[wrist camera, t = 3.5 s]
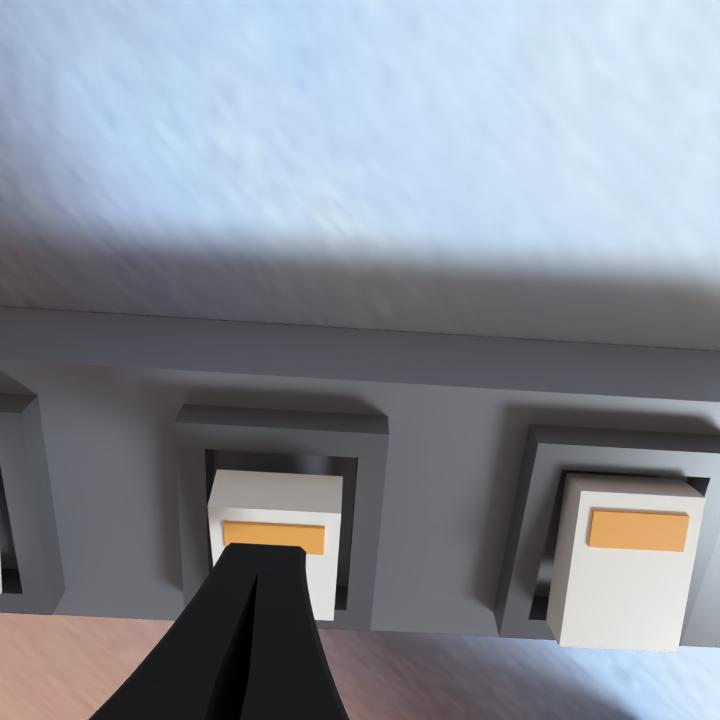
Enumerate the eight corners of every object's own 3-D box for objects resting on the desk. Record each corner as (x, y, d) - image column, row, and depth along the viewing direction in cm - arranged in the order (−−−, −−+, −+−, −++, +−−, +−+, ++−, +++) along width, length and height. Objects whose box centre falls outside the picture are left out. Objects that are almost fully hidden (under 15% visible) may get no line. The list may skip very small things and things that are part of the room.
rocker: (546, 619, 16) (560, 648, 15) (566, 472, 15) (582, 492, 14) (657, 625, 16) (678, 654, 15) (682, 479, 15) (707, 499, 14)
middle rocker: (226, 576, 16) (217, 617, 15) (216, 469, 14) (206, 509, 13) (335, 583, 16) (333, 623, 15) (342, 476, 14) (340, 516, 13)
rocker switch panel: (-160, 523, 20) (-273, 624, 16) (-230, 292, 17) (-385, 354, 13) (906, 579, 20) (1019, 687, 17) (1013, 369, 18) (1174, 446, 14)
